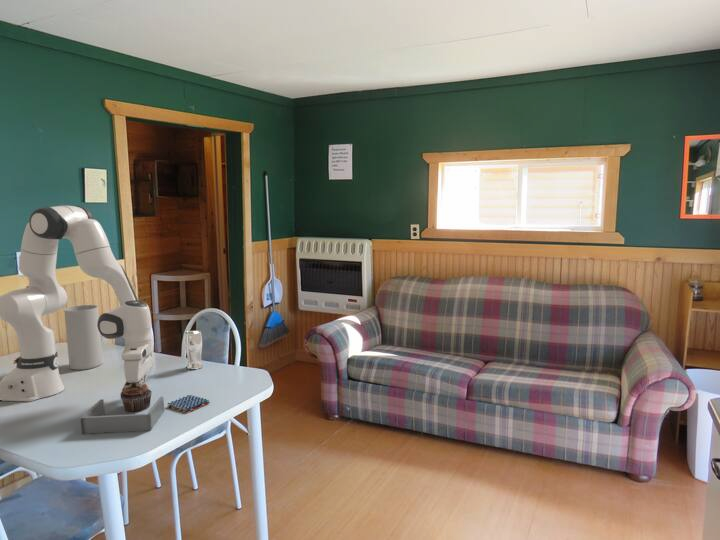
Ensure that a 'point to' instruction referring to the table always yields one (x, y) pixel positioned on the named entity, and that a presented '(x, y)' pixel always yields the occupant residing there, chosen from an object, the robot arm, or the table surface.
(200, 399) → the woven mat
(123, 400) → the cupcake
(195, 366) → the beer glass
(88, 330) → the cylinder vase
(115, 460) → the table surface
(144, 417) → the box
